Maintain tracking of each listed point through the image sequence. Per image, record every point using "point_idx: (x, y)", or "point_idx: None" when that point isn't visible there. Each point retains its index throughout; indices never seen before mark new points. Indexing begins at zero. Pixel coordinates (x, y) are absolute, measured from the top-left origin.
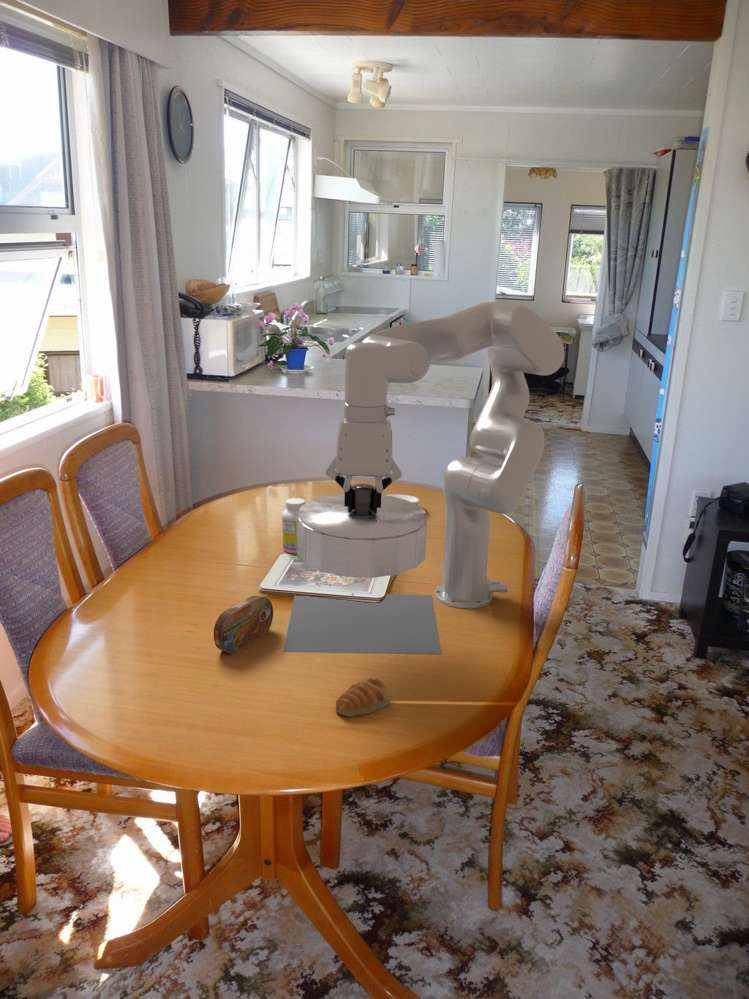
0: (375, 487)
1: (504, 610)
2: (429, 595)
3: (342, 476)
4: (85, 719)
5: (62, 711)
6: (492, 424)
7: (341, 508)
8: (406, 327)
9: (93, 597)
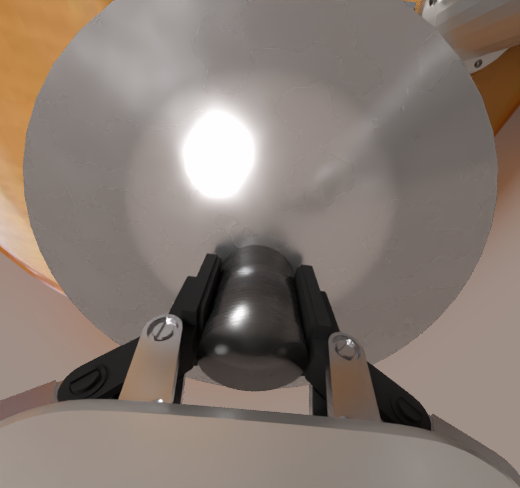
0: (312, 369)
1: (504, 83)
2: (411, 5)
3: (108, 394)
4: (53, 276)
5: (28, 266)
6: None
7: (183, 236)
8: None
9: None
